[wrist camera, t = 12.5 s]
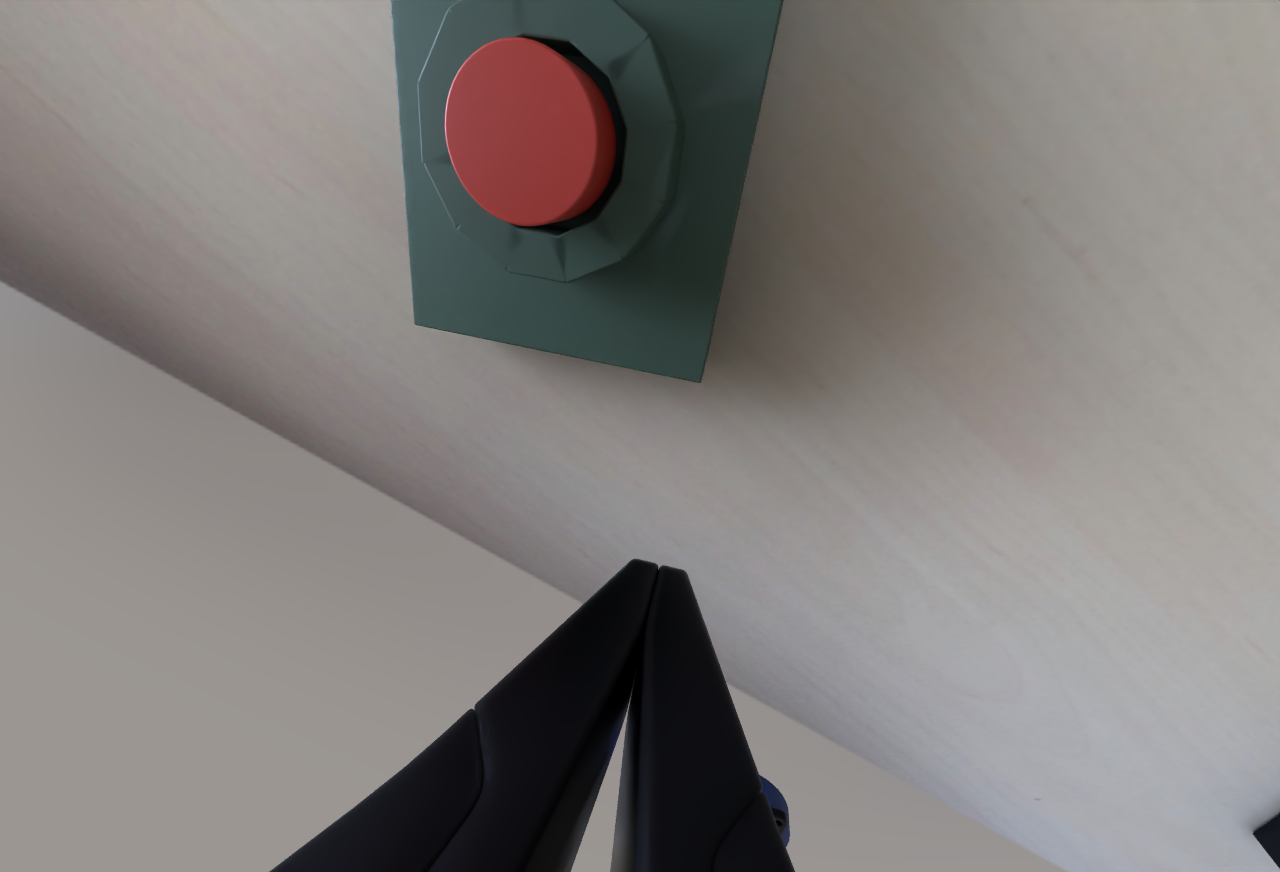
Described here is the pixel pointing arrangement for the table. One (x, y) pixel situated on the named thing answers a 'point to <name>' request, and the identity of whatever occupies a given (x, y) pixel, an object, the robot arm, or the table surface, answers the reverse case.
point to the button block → (632, 201)
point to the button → (529, 133)
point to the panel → (1270, 838)
